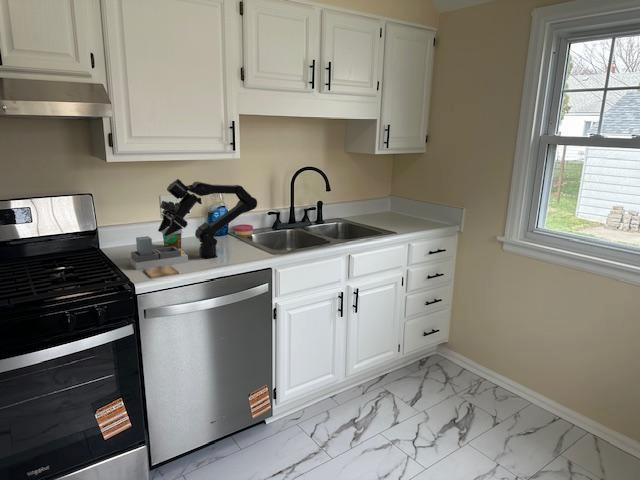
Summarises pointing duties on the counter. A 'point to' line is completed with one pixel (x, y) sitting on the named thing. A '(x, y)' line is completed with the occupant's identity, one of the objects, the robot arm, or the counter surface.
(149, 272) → the walnut board
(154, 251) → the power strip
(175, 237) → the food container
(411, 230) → the counter surface
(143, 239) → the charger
